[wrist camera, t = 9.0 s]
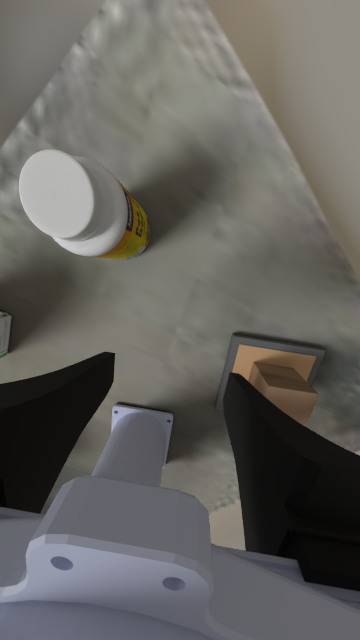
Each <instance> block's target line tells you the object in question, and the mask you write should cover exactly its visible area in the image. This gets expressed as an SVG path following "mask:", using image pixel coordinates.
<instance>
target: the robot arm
mask: <svg viewBox="0 0 360 640" xmlns="http://www.w3.org/2000/svg"><path fill="white" fill-rule="evenodd" d="M114 361H115V353H110V352H103V353H100V354H98V355H95V356H93V357H90V358H88V359H86V360H83V361H81V362H79V363H76V364H73V365H71V366H68V367H65V368H63V369H60V370H57V371H54V372H51V373H47V374H44V375H40V376H37V377H32V378H28V379H24V380H19V381H15V382H9V383H4V384H0V640H360V456H359V455H357V454H355V453H353V452H351V451H348V450H346V449H344V448H342V447H340V446H338V445H336V444H335V443H333V442H331V441H329V440H327V439H325V438H323V437H322V436H320V435H318V434H317V433H315V432H313V431H311V430H310V429H308V428H307V427H305V426H303V425H302V424H300V423H299V422H297V421H296V420H294V419H293V418H291V417H290V416H289V415H287V414H286V413H284V412H283V411H282V410H280V409H279V408H278V407H277V406H275V405H274V404H273V403H272V402H271V401H269V400H268V399H267V398H266V397H265V396H264V395H262V394H261V393H260V392H259V391H258V390H257V389H256V388H255V387H254V386H253V385H252V384H251V383H250V382H248V381H247V380H246V379H245V378H244V377H243V376H242V375H241V374H239V373H232V372H230V373H229V377H228V381H227V385H226V389H225V393H224V397H223V408H224V416H225V420H226V424H227V429H228V433H229V437H230V441H231V445H232V449H233V453H234V458H235V463H236V470H237V477H238V484H239V492H240V500H241V508H242V518H243V526H244V536H245V547H246V551H243V550H238V549H233V548H227V547H221V546H216V545H214V544H212V543H211V539H210V524H209V514H208V510H207V509H206V508H205V507H204V506H203V505H202V504H201V502H200V501H199V500H198V499H197V498H196V497H195V496H193V495H190V494H188V493H185V492H182V491H180V490H176V489H170V488H164V487H160V482H161V475H162V469H163V468H165V464H166V458H167V452H168V446H169V441H170V435H171V429H172V423H173V414H172V413H167V412H161V411H155V410H149V409H143V408H137V407H131V406H126V405H120V404H115V405H114V406H113V409H112V427H111V435H110V437H109V439H108V442H107V444H106V446H105V448H104V450H103V452H102V454H101V456H100V458H99V460H98V462H97V465H96V467H95V469H94V471H93V473H92V475H91V476H79V477H76V478H74V479H72V480H71V481H69V482H67V483H65V484H64V485H63V486H62V487H61V489H60V491H59V492H58V494H57V496H56V498H55V499H54V501H53V503H52V504H51V506H50V508H49V510H48V511H47V513H46V515H43V514H40V513H41V510H42V508H43V506H44V504H45V502H46V500H47V498H48V496H49V494H50V492H51V490H52V488H53V486H54V484H55V482H56V480H57V478H58V476H59V474H60V472H61V470H62V468H63V466H64V464H65V462H66V460H67V458H68V456H69V454H70V453H71V451H72V449H73V447H74V445H75V443H76V442H77V440H78V438H79V436H80V434H81V433H82V431H83V430H84V428H85V426H86V425H87V424H88V422H89V421H90V419H91V418H92V416H93V415H94V413H95V412H96V410H97V409H98V407H99V406H100V404H101V403H102V402H103V400H104V399H105V397H106V395H107V393H108V392H109V390H110V388H111V385H112V383H113V379H114ZM116 411H118V412H116Z"/></svg>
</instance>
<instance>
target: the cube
mask: <svg viewBox="0 0 360 640" xmlns="http://www.w3.org/2000/svg"><path fill="white" fill-rule="evenodd" d="M248 382H250V383H251V384H252V385H253V386H254V387H255V388H256V389H257V390H258V391H259V392H260V393H261V394H262V395H264V396H265V397H266V398H267V399H268V400H269V401H271V402H272V403H273V404H274V405H275V406H277V407H278V408H279V409H280V410H282V411H283V412H284V413H286V414H287V415H289V416H290V417H291V418H293V419H294V420H296V421H297V422H299V423H300V424H302V425H303V426H305V427H306V424H307V422H308V419H309V417H310V414H311V412H312V410H313V407H314V405H315V402H316V400H317V397H318V395H319V394H318V393H317V392H316V391H315V390H314V389H313V388H312V387H311V386H310V385H309V383H308V382H307V381H306V380H305V379H304V378H303V377H302V376H301V375H300V374H299V373H298V372H297V371H296V370H295V369H294V368H290V367H284V366H277V365H271V364H264V363H258V362H253V365H252V368H251V372H250V375H249V379H248Z"/></svg>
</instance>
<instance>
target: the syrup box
mask: <svg viewBox="0 0 360 640" xmlns="http://www.w3.org/2000/svg"><path fill="white" fill-rule="evenodd" d="M11 317H12V316H11V315H10V314H8V313H5V312H2V311H0V358H1V357H4V356H5V355H7V352H8V344H9V336H10V326H11Z"/></svg>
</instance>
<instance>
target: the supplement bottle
mask: <svg viewBox="0 0 360 640" xmlns="http://www.w3.org/2000/svg"><path fill="white" fill-rule="evenodd" d="M19 192H20V198H21V202H22V205H23V207H24V210H25V212H26V213H27V215H28V217H29V218H30V220H31V221H32V222H33V223H34V224H35V225H36V226H37V227H38V228H39V229H40V230H42V231H43V232H45V233H46V234H48V235H50V236H52V238H53V239H54V240H55V241H56V242H57V243H58V244H60V245H61V246H62V247H63V248H65V249H67V250H68V251H70V252H73V253H75V254H79V255H83V256H92V257H104V258H115V259H130V258H134V257H136V256H138V255H139V254H140V253H141V252H143V250H144V249H145V248H146V246H147V244H148V242H149V239H150V223H149V220H148V217H147V215H146V213H145V212H144V210H143V209H142V207H141V206H140V205H139V204H138V203H137V202H136V201H135V199H134V198H133V197H132V196H131V195H130V194H129V192H128V191H127V190H126V189H125V188H124V187H123V186H122V184H121V183H120V182H119V181H118V180H117V179H116V178H115V176H114V175H113V174H112V173H111V172H110V171H109V170H108V169H107V168H105V167H104V166H103V165H101V164H100V163H98V162H97V161H95V160H92V159H90V158H87V157H82V156H71V155H69V154H67V153H65V152H62V151H59V150H53V149H48V150H42V151H39V152H37V153H35V154H34V155H33V156H31V157H30V158H29V159H28V160H27V162H26V163H25V165H24V167H23V169H22V171H21V175H20V180H19Z"/></svg>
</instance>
